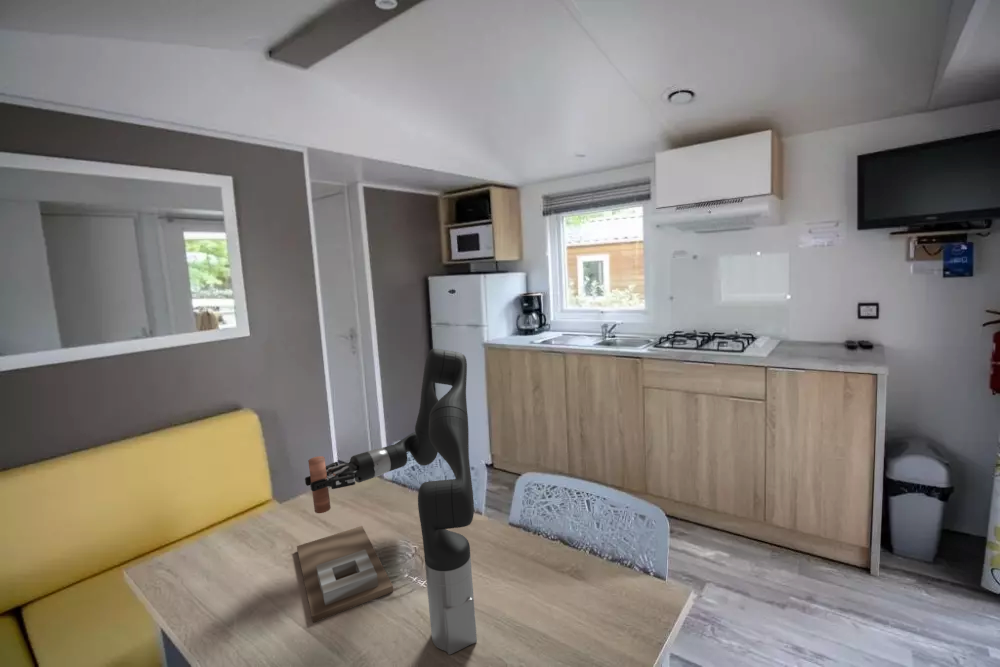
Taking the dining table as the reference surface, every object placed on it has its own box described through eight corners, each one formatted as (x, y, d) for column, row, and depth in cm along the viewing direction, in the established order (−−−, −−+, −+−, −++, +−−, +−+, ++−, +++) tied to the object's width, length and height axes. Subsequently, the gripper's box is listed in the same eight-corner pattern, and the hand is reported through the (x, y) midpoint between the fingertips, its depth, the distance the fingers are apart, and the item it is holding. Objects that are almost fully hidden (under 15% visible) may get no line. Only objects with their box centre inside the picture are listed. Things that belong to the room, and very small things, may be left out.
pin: (331, 510, 124) (325, 459, 123) (315, 514, 123) (309, 463, 121) (329, 504, 128) (323, 455, 126) (313, 508, 126) (307, 458, 124)
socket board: (393, 591, 112) (391, 574, 111) (313, 622, 103) (310, 603, 102) (362, 530, 139) (361, 516, 139) (297, 551, 131) (295, 536, 130)
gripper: (359, 445, 138) (298, 463, 127) (379, 458, 127) (315, 479, 116) (361, 469, 139) (301, 489, 128) (382, 484, 128) (318, 507, 117)
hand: (308, 484), depth 122 cm, fingers closed on pin, 4 cm apart
